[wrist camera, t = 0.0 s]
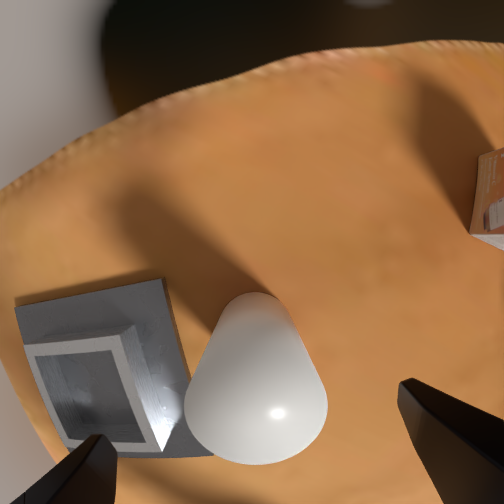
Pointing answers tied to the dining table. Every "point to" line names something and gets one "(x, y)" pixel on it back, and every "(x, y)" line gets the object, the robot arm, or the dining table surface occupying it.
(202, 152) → the dining table surface
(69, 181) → the dining table surface
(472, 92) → the dining table surface
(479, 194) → the small box
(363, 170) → the dining table surface
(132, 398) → the duct collar
